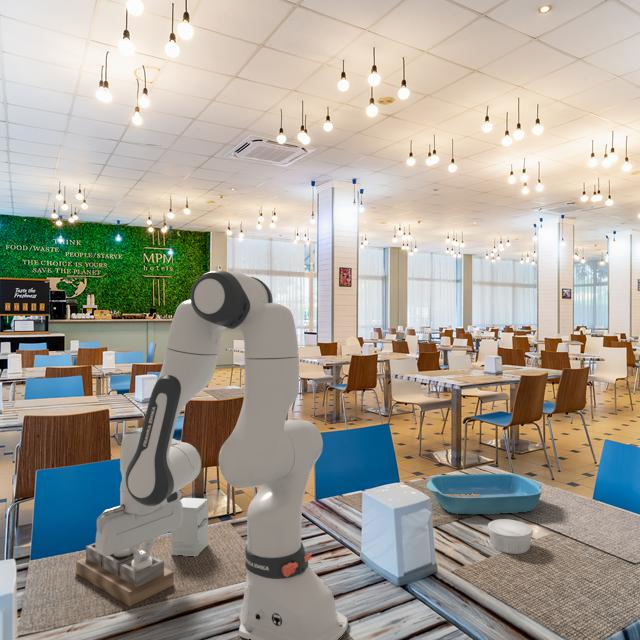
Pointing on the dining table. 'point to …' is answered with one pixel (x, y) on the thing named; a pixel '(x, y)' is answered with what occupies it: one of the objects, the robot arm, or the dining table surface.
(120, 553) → the knob middle
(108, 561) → the knob mount
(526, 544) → the ramekin
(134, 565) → the knob near
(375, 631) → the dining table surface
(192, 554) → the supplement box
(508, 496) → the casserole dish
